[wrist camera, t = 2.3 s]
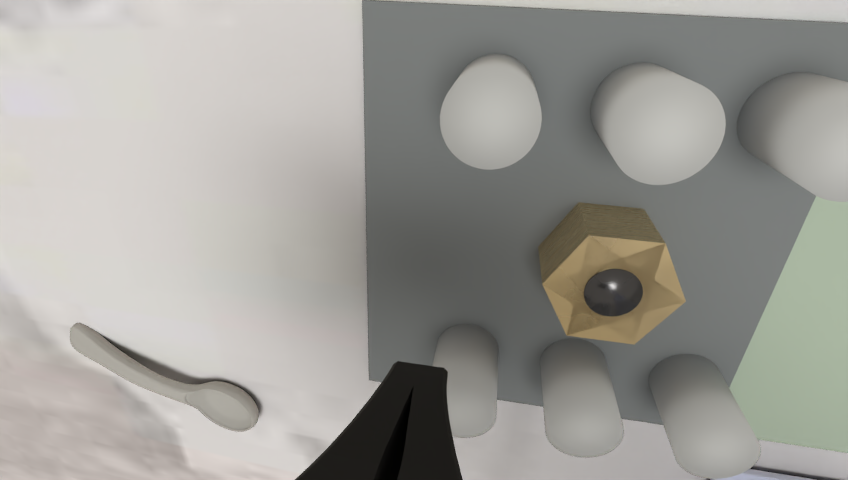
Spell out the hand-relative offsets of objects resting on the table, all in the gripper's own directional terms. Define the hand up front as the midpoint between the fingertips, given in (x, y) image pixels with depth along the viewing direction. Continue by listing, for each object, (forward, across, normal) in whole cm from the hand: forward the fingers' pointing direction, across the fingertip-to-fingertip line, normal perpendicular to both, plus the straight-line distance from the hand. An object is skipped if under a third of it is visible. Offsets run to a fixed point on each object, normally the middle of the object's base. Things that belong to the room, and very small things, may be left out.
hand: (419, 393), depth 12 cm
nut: (+9, -6, 0) cm, 11 cm away
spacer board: (+9, -9, 0) cm, 13 cm away
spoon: (+10, +16, +11) cm, 22 cm away
